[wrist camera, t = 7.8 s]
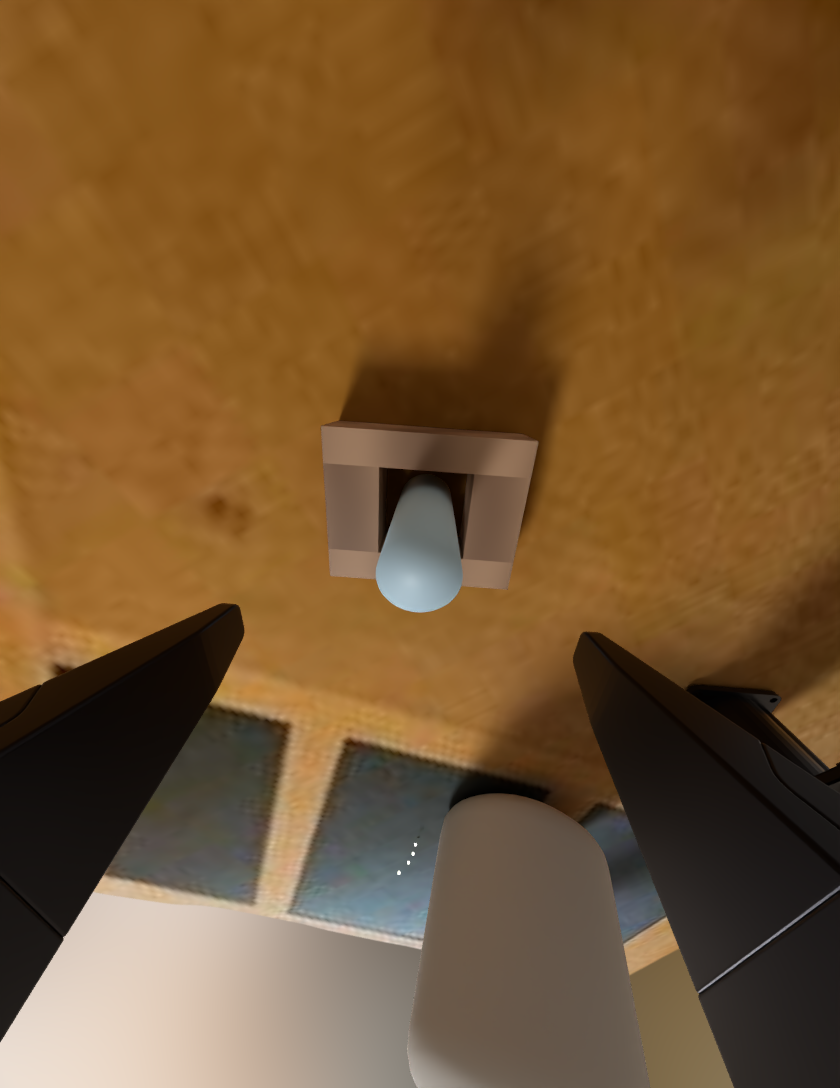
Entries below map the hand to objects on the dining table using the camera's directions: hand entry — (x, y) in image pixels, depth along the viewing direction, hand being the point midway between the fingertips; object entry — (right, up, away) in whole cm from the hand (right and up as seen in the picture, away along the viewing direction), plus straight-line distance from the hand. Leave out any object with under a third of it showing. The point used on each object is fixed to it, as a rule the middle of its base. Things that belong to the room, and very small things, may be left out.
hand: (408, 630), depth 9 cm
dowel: (+1, +5, +11) cm, 12 cm away
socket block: (+1, +5, +11) cm, 12 cm away
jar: (+8, -25, +25) cm, 36 cm away
